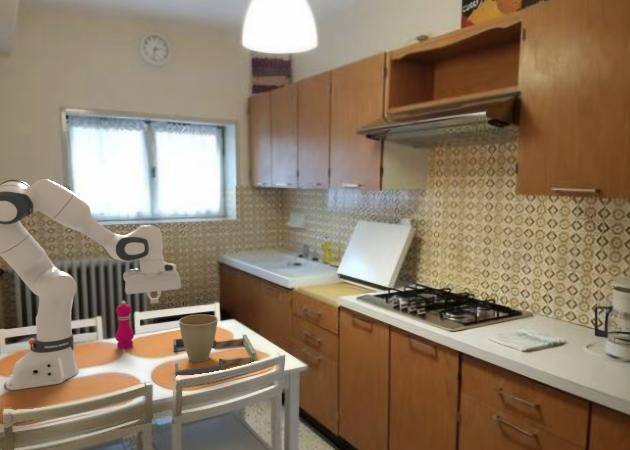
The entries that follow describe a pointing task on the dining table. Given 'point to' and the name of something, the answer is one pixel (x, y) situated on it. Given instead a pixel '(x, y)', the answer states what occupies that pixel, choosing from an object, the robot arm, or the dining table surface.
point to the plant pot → (198, 335)
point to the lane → (235, 342)
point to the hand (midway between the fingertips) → (154, 303)
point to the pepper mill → (124, 327)
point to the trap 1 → (180, 345)
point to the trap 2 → (199, 369)
